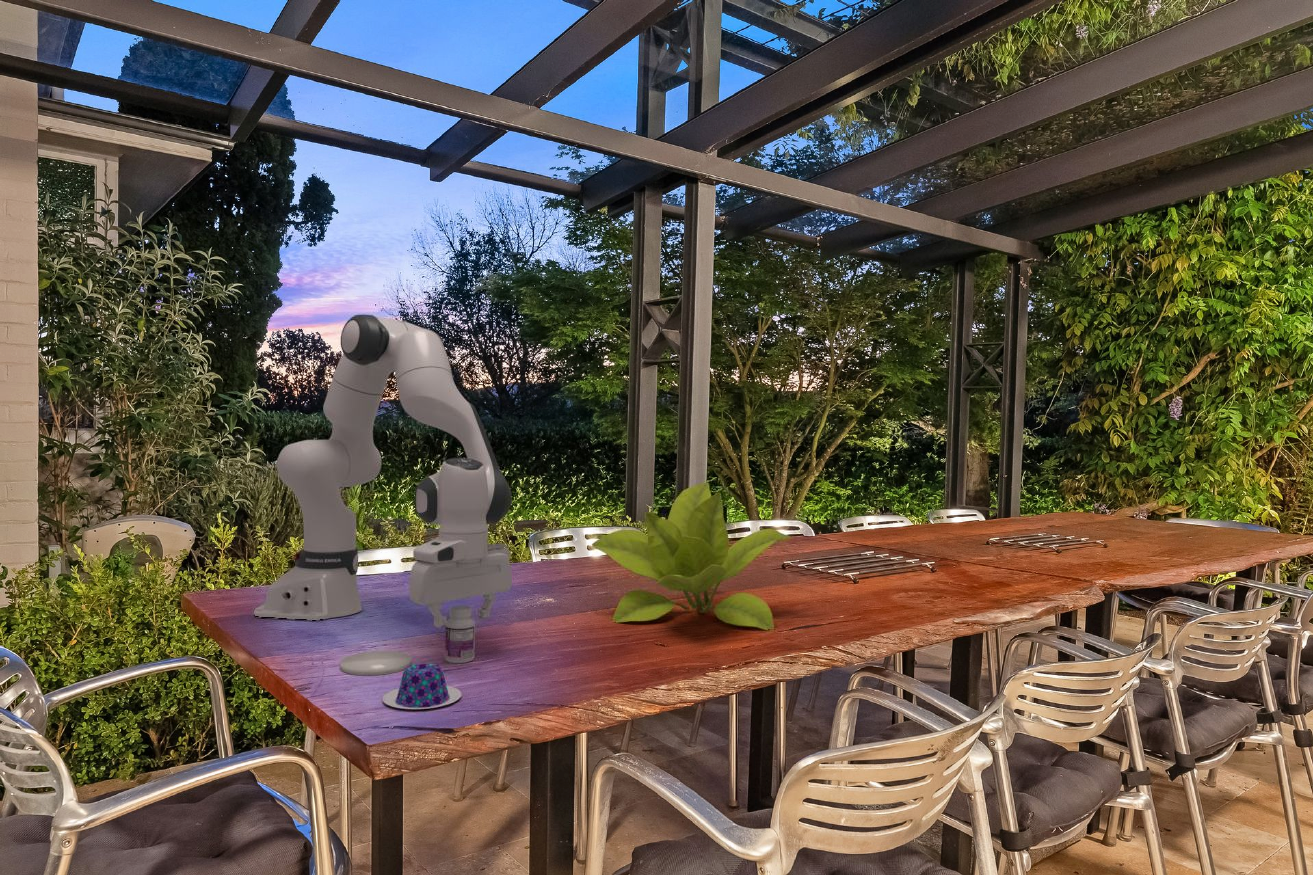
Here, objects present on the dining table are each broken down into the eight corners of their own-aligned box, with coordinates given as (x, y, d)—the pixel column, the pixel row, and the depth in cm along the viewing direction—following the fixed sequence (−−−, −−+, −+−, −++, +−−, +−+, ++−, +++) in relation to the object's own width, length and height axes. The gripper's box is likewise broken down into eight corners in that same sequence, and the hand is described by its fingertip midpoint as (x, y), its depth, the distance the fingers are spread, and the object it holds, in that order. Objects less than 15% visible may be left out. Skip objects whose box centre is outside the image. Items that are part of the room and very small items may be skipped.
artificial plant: (584, 636, 199) (553, 542, 182) (685, 525, 225) (666, 434, 208) (735, 706, 175) (715, 606, 158) (828, 573, 201) (820, 475, 185)
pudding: (403, 686, 139) (403, 655, 139) (472, 691, 137) (473, 659, 137) (368, 710, 127) (368, 676, 127) (443, 716, 125) (444, 681, 125)
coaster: (330, 675, 143) (330, 669, 143) (352, 655, 155) (352, 650, 155) (402, 675, 144) (402, 669, 144) (418, 656, 156) (418, 651, 156)
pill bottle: (447, 655, 157) (448, 604, 157) (476, 655, 157) (477, 604, 157) (442, 664, 151) (443, 610, 151) (472, 663, 152) (473, 610, 152)
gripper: (498, 540, 164) (498, 610, 164) (404, 550, 149) (404, 628, 149) (519, 543, 160) (518, 616, 160) (424, 554, 145) (423, 634, 145)
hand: (462, 622), depth 154 cm, fingers open, 8 cm apart
